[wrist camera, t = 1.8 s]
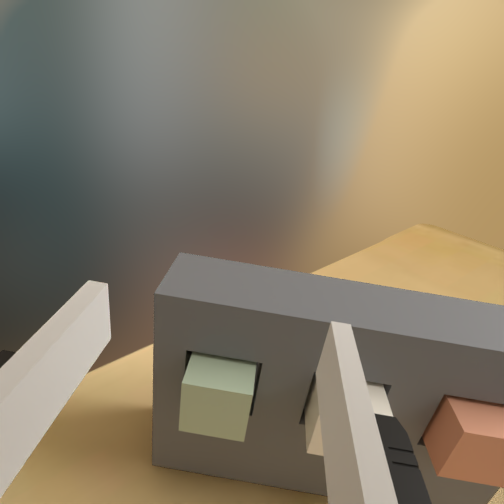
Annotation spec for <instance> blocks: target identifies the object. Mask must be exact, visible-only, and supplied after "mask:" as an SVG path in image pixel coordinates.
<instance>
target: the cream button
mask: <svg viewBox="0 0 504 504" xmlns="http://www.w3.org/2000/svg"><path fill="white" fill-rule="evenodd" d="M366 384H367V388H368V391H369V395H370V399H371V403H372V407H373V410H374V413H375V414H381V415H386V416H392V417H393V414H392V411H391V408H390V405H389V401H388V398H387V395H386V392H385V389H384V386H383V384H381V383H375V382H370V381H366ZM304 411H305V430H306V449H307V453H309V454H315V455H320V456H324V455H323V445H322V434H321V424H320V414H319V404H318V394H317V383H316V372H314V374H313V378H312V381H311V384H310V388H309V391H308V395H307V398H306V401H305V405H304Z"/></svg>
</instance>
